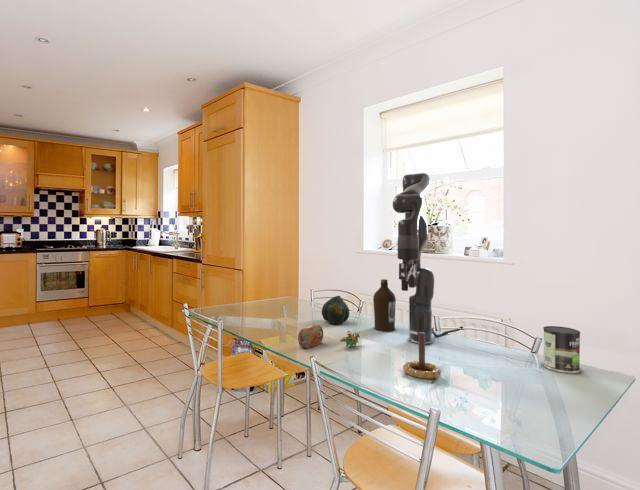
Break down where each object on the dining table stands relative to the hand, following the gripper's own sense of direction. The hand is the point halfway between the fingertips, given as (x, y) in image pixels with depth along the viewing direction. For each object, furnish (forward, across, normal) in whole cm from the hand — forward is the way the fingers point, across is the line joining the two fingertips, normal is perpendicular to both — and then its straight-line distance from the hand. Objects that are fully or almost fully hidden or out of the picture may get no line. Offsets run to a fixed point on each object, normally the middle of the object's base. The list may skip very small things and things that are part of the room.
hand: (408, 289), depth 150 cm
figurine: (+28, 0, -24) cm, 37 cm away
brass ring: (+26, +12, +8) cm, 30 cm away
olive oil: (+28, -41, -24) cm, 55 cm away
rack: (+28, +12, +8) cm, 32 cm away
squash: (+28, -39, -50) cm, 69 cm away
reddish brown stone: (+28, +5, -40) cm, 49 cm away
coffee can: (+28, -26, +45) cm, 59 cm away
